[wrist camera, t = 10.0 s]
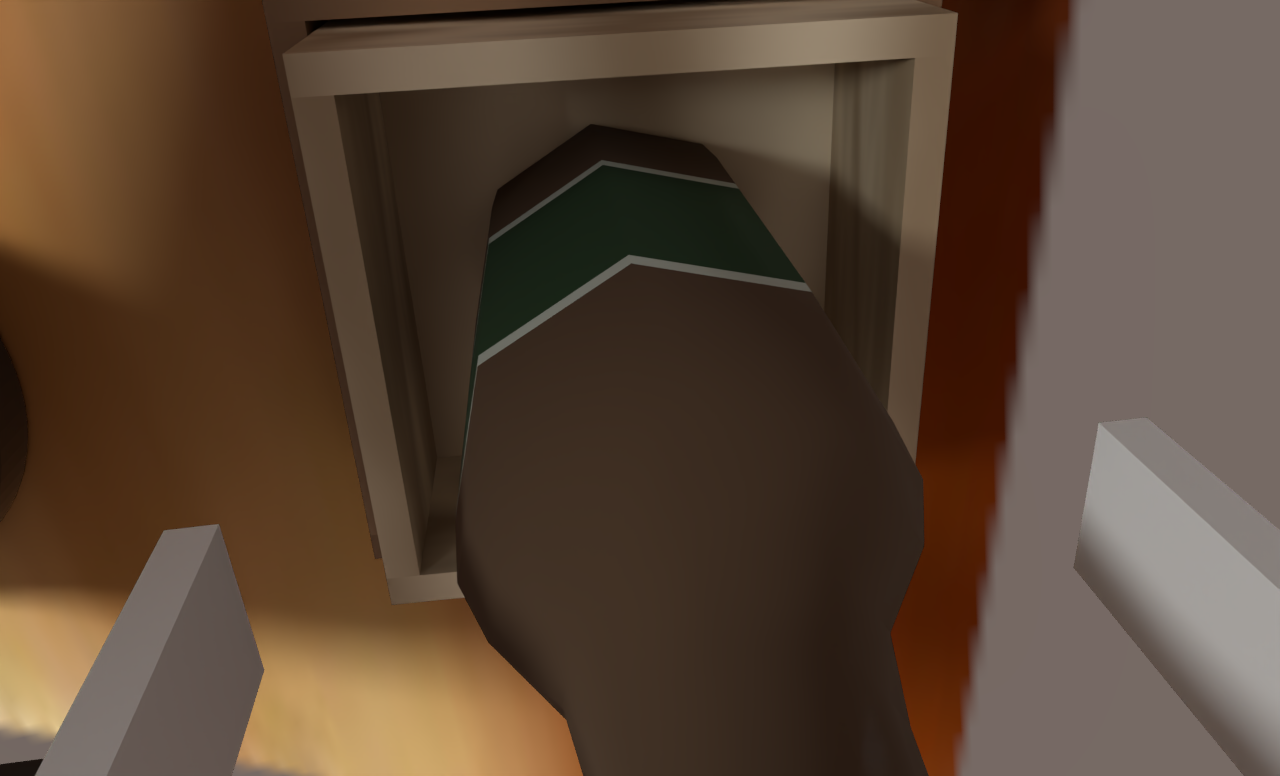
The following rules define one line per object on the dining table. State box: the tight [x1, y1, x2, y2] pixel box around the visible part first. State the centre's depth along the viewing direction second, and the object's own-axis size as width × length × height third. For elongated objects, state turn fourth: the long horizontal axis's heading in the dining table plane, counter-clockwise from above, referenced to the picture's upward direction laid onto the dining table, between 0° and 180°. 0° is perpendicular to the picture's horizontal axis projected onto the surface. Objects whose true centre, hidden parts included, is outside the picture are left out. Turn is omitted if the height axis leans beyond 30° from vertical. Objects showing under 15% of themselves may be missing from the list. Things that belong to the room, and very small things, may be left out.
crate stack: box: [262, 0, 958, 605], centre depth 26 cm, size 15×15×9 cm
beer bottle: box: [455, 124, 928, 776], centre depth 16 cm, size 8×8×24 cm
